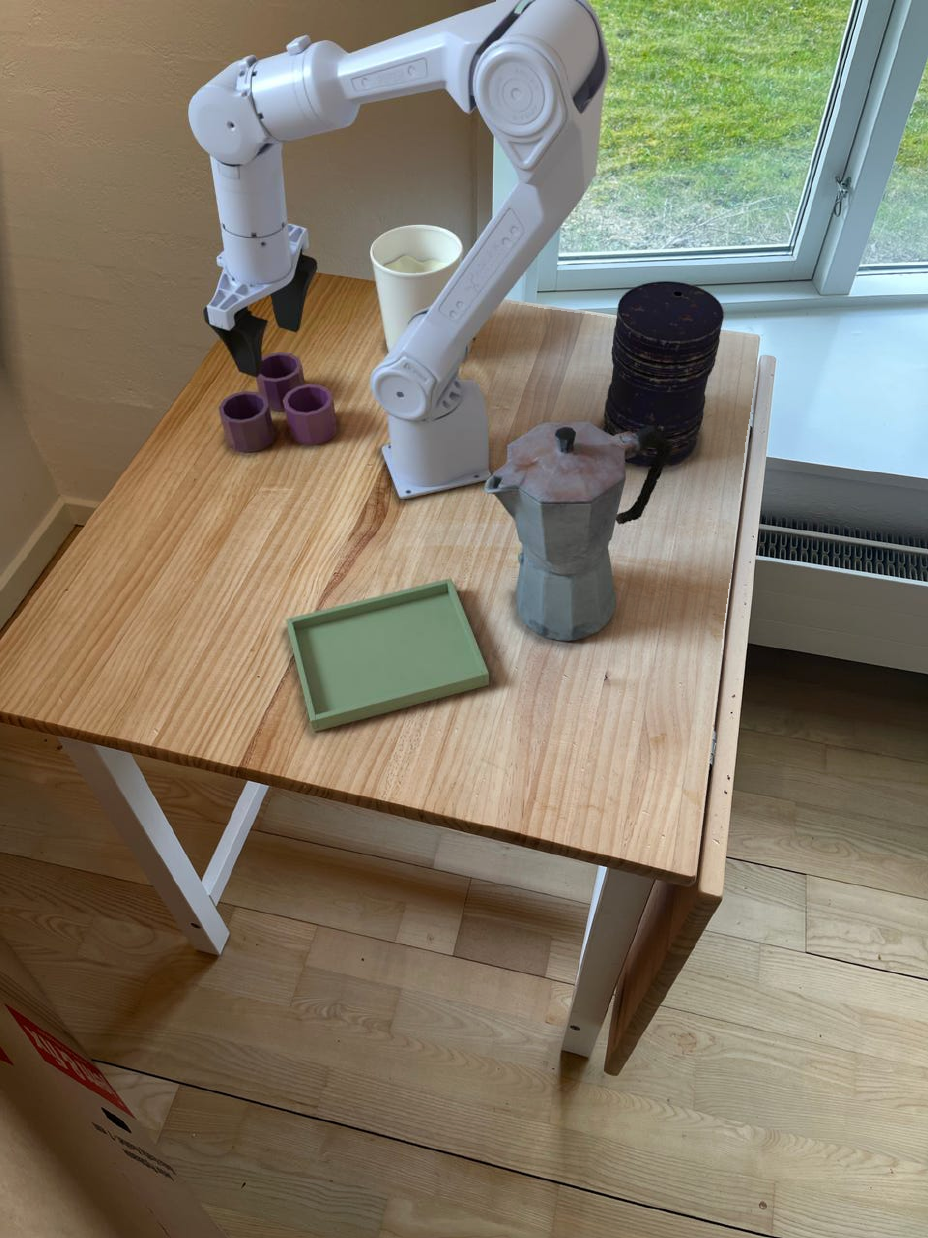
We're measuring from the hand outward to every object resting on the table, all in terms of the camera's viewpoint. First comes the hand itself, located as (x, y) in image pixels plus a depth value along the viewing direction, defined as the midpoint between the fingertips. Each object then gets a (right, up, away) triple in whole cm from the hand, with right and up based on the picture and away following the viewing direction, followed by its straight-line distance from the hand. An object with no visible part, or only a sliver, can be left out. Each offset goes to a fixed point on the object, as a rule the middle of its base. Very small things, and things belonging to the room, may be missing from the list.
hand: (269, 349), depth 92 cm
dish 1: (-3, -7, +8) cm, 11 cm away
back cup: (-1, -2, +12) cm, 12 cm away
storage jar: (+38, -7, +6) cm, 39 cm away
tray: (+12, -30, -11) cm, 34 cm away
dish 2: (+3, -6, +8) cm, 11 cm away
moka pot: (+28, -25, -7) cm, 38 cm away
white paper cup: (+14, +5, +17) cm, 23 cm away
